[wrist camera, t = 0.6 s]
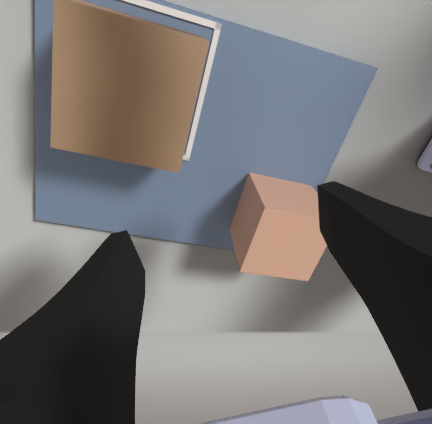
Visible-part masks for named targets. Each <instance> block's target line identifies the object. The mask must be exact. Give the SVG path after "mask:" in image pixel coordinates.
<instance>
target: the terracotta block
mask: <svg viewBox="0 0 432 424" xmlns="http://www.w3.org/2000/svg"><path fill="white" fill-rule="evenodd" d="M230 233H231V237H232V241H233V246H234V250H235V254H236V258H237V262H238V266H239V270H240V272H245V273H253V274H260V275H267V276H274V277H281V278H289V279H296V280H303V281H309V279H310V277H311V275H312V273H313V271H314V269H315V267H316V265H317V264H318V262H319V260H320V258H321V256H322V254H323V252H324V250H325V249H326V247H327V244H326V242H325V240H324V238H323V236H322V234H321V232H320V227H319V209H318V193H317V192H316V191H315V189H314V188H313V187H312V186H311V185H306V184H302V183H297V182H292V181H287V180H283V179H278V178H273V177H268V176H264V175H259V174H254V173H250V172H249V174H248V177H247V180H246V182H245V185H244V188H243V191H242V194H241V197H240V200H239V203H238V206H237V209H236V212H235V215H234V218H233V220H232V223H231V226H230Z"/></svg>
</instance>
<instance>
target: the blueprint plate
mask: <svg viewBox="0 0 432 424" xmlns="http://www.w3.org/2000/svg"><path fill="white" fill-rule="evenodd" d="M53 1H54V0H35V220H39V221H45V222H52V223H58V224H65V225H71V226H78V227H84V228H91V229H98V230H104V231H111V232H121V231H125V230H127V231H128V233H129V234H130V235H137V236H143V237H150V238H156V239H163V240H169V241H176V242H182V243H189V244H195V245H202V246H208V247H215V248H221V249H228V250H234V246H233V241H232V237H231V233H230V226H231V223H232V220H233V218H234V215H235V212H236V209H237V206H238V203H239V200H240V197H241V194H242V191H243V188H244V185H245V182H246V180H247V177H248V174H249V172H250V173H254V174H259V175H264V176H268V177H273V178H278V179H283V180H287V181H292V182H297V183H302V184H306V185H311V186H312V187H313V188H314V189H315V191H316V192H317V193H318V191H317V185H320V184H323V183H324V181H325V179H326V177H327V175H328V173H329V171H330V168H331V166H332V164H333V162H334V160H335V158H336V156H337V154H338V151H339V149H340V147H341V145H342V143H343V141H344V139H345V137H346V134H347V132H348V130H349V128H350V126H351V124H352V122H353V120H354V117H355V115H356V113H357V111H358V109H359V107H360V105H361V103H362V100H363V98H364V96H365V94H366V92H367V90H368V88H369V86H370V83H371V81H372V79H373V77H374V75H375V73H376V71H377V69H378V68H376V67H372V66H369V65H366V64H363V63H360V62H357V61H353V60H350V59H347V58H344V57H341V56H337V55H334V54H331V53H328V52H325V51H322V50H318V49H315V48H312V47H309V46H306V45H302V44H299V43H296V42H293V41H290V40H287V39H283V38H280V37H277V36H274V35H271V34H267V33H264V32H261V31H258V30H255V29H252V28H248V27H245V26H242V25H239V24H236V23H232V22H229V21H226V20H223V19H220V18H217V17H213V16H210V15H207V14H204V13H201V12H197V11H194V10H191V9H188V8H185V7H182V6H178V5H175V4H172V3H169V2H166V1H162V0H82V1H85V2H89V3H92V4H95V5H99V6H102V7H105V8H109V9H112V10H115V11H119V12H122V13H126V14H129V15H132V16H136V17H139V18H142V19H146V20H149V21H152V22H156V23H159V24H162V25H166V26H169V27H172V28H176V29H179V30H183V31H186V32H189V33H193V34H196V35H199V36H203V37H204V38H205V39H206V40H207V41H208V42H209V47H208V51H207V55H206V60H205V64H204V68H203V73H202V77H201V81H200V86H199V90H198V94H197V99H196V103H195V107H194V112H193V116H192V121H191V125H190V129H189V134H188V138H187V142H186V147H185V151H184V155H183V160H182V164H181V168H180V173H176V172H171V171H166V170H161V169H156V168H151V167H146V166H141V165H136V164H131V163H126V162H121V161H116V160H111V159H106V158H101V157H96V156H91V155H86V154H81V153H76V152H71V151H66V150H61V149H56V148H51V147H50V142H51V95H52V48H53Z"/></svg>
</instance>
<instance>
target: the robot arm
mask: <svg viewBox="0 0 432 424" xmlns="http://www.w3.org/2000/svg"><path fill="white" fill-rule="evenodd" d="M431 164H432V139H431V141H430V142H429V144H428V145H427V147H426V149H425V150H424V152H423V154H422V155H421V157H420V159H419V160H418V163H417V166H418V168H419V169H421V170H423V171H427V172H431V173H432V166H430V165H431ZM317 191H318V209H319V227H320V232H321V234H322V236H323V238H324V240H325V242H326V244H327V246H328V248H329V250H330V252H331V254H332V255H333V257H334V258H335V260H336V261H337V263H338V264H339V266H340V267H341V269H342V270H343V271H344V273H345V274H346V276H347V277H348V279H349V280H350V282H351V283H352V285H353V286H354V288H355V289H356V290H357V292H358V293H359V295H360V296H361V298H362V299H363V301H364V303H365V304H366V306H367V308H368V309H369V311H370V313H371V315H372V317H373V319H374V321H375V323H376V324H377V326H378V328H379V330H380V332H381V334H382V336H383V338H384V340H385V342H386V344H387V346H388V348H389V350H390V352H391V354H392V356H393V358H394V359H395V362H396V364H397V366H398V368H399V370H400V372H401V374H402V377H403V378H404V381H405V383H406V385H407V387H408V389H409V391H410V394H411V396H412V398H413V400H414V403H415V405H416V407H417V409H418V412H414V413H409V414H405V415H400V416H396V417H391V418H386V419H381V420H376V419H375V417H374V415H373V413H372V411H371V409H370V407H369V405H368V404H366V403H364V402H361V401H358V400H356V399H352V398H349V397H346V396H333V397H320V398H315V399H310V400H306V401H301V402H297V403H292V404H288V405H283V406H278V407H273V408H269V409H264V410H260V411H255V412H250V413H246V414H241V415H237V416H232V417H228V418H224V419H218V420H214V421H209V422H205V423H201V424H432V217H428V216H424V215H421V214H417V213H414V212H411V211H408V210H405V209H402V208H399V207H396V206H393V205H390V204H388V203H385V202H383V201H380V200H378V199H375V198H373V197H370V196H368V195H366V194H363V193H361V192H359V191H356V190H354V189H352V188H349V187H347V186H345V185H342V184H340V183H337V182H334V181H333V182H329V183H324V184H320V185H317ZM144 298H145V270H144V267H143V265H142V263H141V260H140V258H139V256H138V254H137V251H136V249H135V247H134V245H133V242H132V240H131V238H130V235H129V233H128V231H127V230H125V231H121V232H117V233H112V234H111V235H110V236H109V237H108V238H107V239H106V240H105V241H104V242H103V243H102V244H101V246H100V247H99V248H98V249H97V250H96V251H95V253H94V254H93V255H92V256H91V257H90V258H89V260H88V261H87V262H86V263H85V264H84V265H83V267H82V268H81V269H80V270H79V271H78V272H77V273H76V274H75V275H74V276H73V277H72V278H71V279H70V281H69V282H68V283H67V284H66V285H65V286H64V287H63V288H62V289H61V290H60V291H59V292H58V293H57V294H56V295H55V296H54V297H53V298H52V299H51V300H49V301H48V302H47V303H46V304H45V305H44V306H43V307H42V308H40V309H39V310H38V311H37V312H36V313H35V314H33V315H32V316H31V317H30V318H28V319H27V320H26V321H25V322H23V323H22V324H21V325H19V326H18V327H17V328H16V329H14V330H13V331H12V332H11V333H9V334H8V335H6V336H5V337H4V338H2V339H1V340H0V424H135V376H136V355H137V346H138V339H139V333H140V326H141V319H142V312H143V305H144Z"/></svg>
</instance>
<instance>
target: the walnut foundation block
mask: <svg viewBox="0 0 432 424" xmlns="http://www.w3.org/2000/svg"><path fill="white" fill-rule="evenodd" d="M208 47H209V42H208V41H207V40H206V39H205V38H204V37H203V36H199V35H196V34H193V33H189V32H186V31H183V30H179V29H176V28H172V27H169V26H166V25H162V24H159V23H156V22H152V21H149V20H146V19H142V18H139V17H136V16H132V15H129V14H126V13H122V12H119V11H115V10H112V9H109V8H105V7H102V6H99V5H95V4H92V3H89V2H85V1H82V0H54V1H53V48H52V95H51V142H50V147H51V148H56V149H61V150H66V151H71V152H76V153H81V154H86V155H91V156H96V157H101V158H106V159H111V160H116V161H121V162H126V163H131V164H136V165H141V166H146V167H151V168H156V169H161V170H166V171H171V172H176V173H180V168H181V164H182V160H183V155H184V151H185V147H186V142H187V138H188V134H189V129H190V125H191V121H192V116H193V112H194V107H195V103H196V99H197V94H198V90H199V86H200V81H201V77H202V73H203V68H204V64H205V60H206V55H207V51H208Z"/></svg>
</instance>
